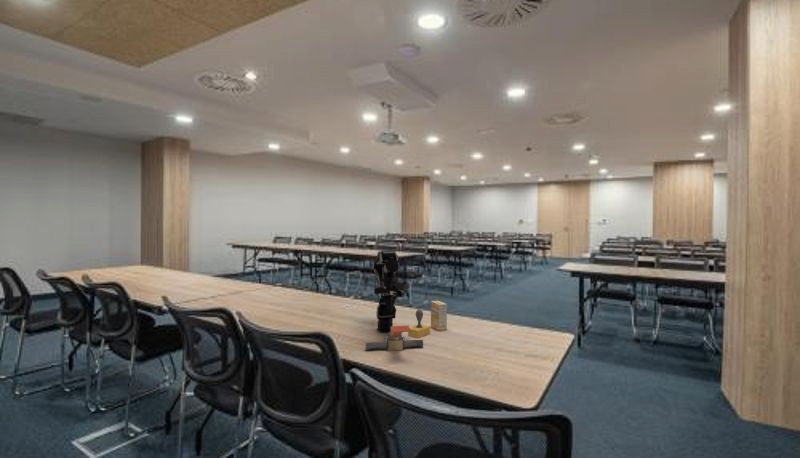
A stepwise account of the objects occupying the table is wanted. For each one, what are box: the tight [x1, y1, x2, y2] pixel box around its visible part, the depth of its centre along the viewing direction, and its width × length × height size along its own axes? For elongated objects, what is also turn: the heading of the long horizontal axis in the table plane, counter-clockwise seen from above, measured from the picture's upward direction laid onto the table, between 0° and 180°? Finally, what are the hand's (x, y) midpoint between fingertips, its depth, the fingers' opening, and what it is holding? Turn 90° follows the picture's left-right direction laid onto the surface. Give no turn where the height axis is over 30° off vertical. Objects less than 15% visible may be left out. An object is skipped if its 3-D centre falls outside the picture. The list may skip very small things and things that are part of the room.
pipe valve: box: [364, 333, 424, 352], centre depth 161 cm, size 5×24×6 cm, turn 101°
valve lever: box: [390, 325, 410, 338], centre depth 155 cm, size 2×7×15 cm
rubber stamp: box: [407, 309, 431, 339], centre depth 181 cm, size 10×6×12 cm, turn 140°
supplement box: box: [430, 300, 448, 332], centre depth 191 cm, size 8×5×13 cm, turn 25°
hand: (390, 311), depth 171 cm, fingers closed
